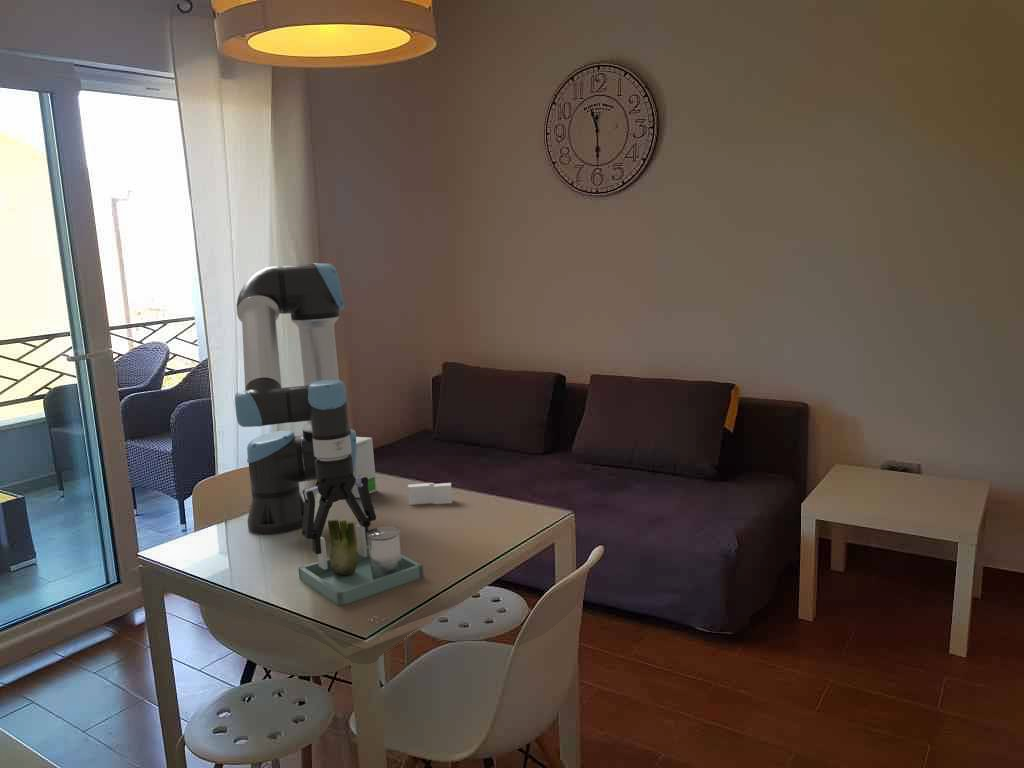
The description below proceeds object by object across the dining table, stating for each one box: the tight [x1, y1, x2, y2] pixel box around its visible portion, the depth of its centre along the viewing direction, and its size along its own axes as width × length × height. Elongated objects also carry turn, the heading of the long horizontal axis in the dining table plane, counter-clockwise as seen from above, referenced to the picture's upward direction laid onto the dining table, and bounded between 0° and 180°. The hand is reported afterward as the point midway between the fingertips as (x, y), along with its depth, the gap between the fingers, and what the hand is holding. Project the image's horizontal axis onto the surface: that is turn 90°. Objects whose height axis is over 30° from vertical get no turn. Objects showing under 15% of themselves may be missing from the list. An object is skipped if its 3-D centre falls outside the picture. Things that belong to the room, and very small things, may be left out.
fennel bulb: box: [327, 519, 358, 576], centre depth 170 cm, size 6×5×12 cm
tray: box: [298, 545, 424, 607], centre depth 169 cm, size 18×19×4 cm
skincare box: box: [351, 436, 378, 499], centre depth 229 cm, size 8×7×16 cm
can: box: [366, 526, 402, 581], centre depth 167 cm, size 7×7×10 cm
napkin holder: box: [407, 482, 453, 506], centre depth 218 cm, size 15×11×6 cm
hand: (343, 561), depth 171 cm, fingers open, 8 cm apart
